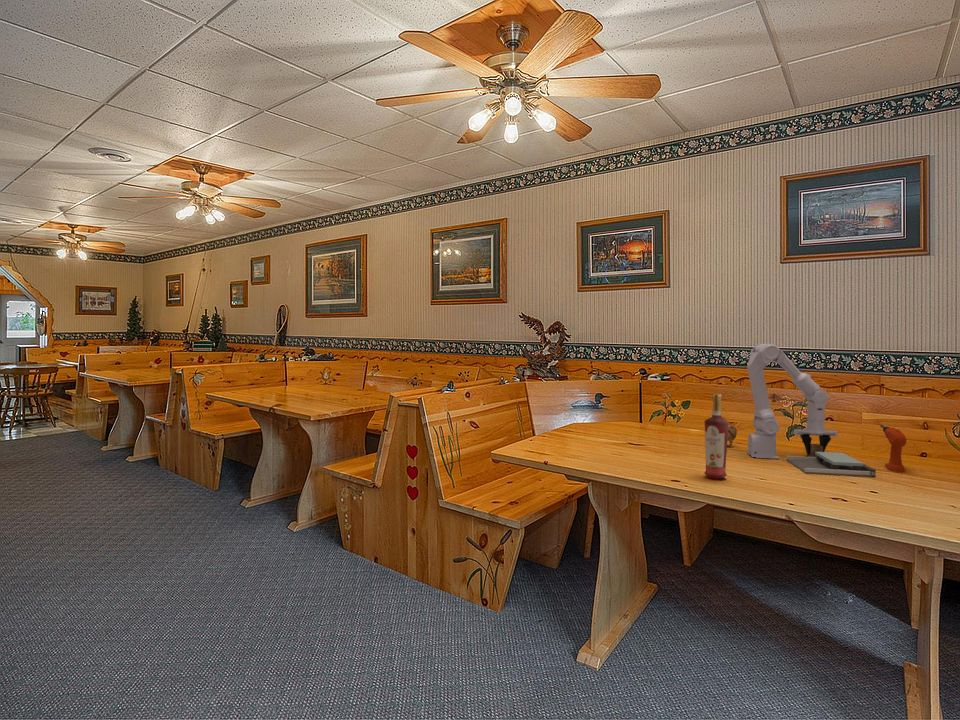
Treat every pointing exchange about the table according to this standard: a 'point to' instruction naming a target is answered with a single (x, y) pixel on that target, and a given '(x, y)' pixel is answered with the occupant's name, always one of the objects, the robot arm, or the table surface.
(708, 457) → the liquor
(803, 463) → the track
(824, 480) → the table surface
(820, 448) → the block
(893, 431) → the toy drill
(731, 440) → the lion figurine
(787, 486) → the table surface
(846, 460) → the grey flat slab
